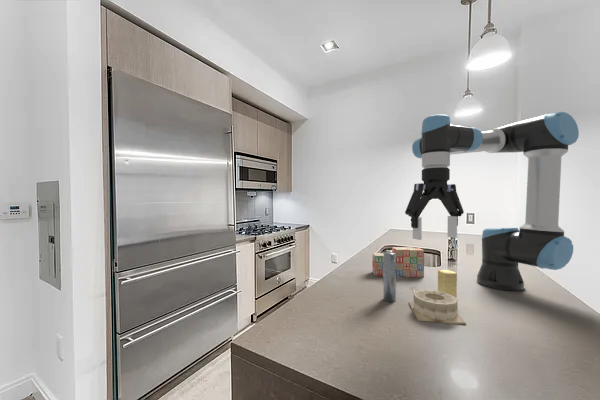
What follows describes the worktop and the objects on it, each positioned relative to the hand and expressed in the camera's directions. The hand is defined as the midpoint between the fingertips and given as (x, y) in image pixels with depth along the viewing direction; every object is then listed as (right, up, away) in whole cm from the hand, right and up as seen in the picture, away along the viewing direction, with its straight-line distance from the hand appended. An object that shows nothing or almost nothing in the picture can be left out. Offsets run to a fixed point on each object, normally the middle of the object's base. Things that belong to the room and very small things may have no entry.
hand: (435, 238), depth 78 cm
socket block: (0, -23, 0) cm, 23 cm away
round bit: (-10, -23, +10) cm, 27 cm away
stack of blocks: (+4, -23, +40) cm, 46 cm away
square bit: (+9, -23, +9) cm, 26 cm away
